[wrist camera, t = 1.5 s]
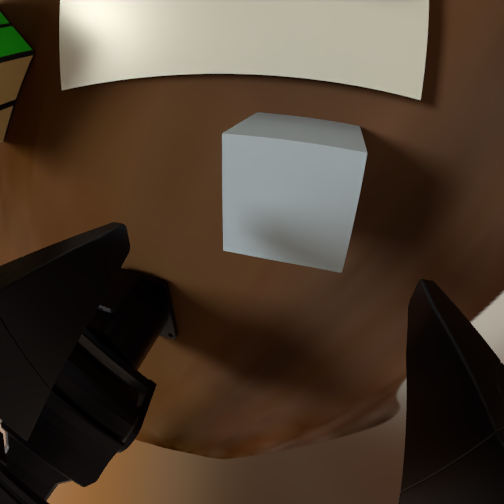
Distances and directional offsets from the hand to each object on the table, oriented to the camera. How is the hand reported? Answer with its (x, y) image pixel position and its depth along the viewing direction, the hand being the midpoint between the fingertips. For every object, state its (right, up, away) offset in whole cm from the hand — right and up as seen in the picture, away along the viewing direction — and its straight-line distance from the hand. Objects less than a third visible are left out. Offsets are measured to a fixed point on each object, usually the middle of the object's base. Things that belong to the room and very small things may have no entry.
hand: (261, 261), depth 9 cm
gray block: (+2, +5, +7) cm, 8 cm away
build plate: (-2, +15, +1) cm, 15 cm away
